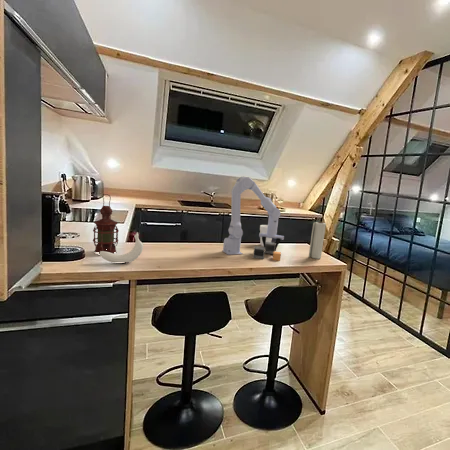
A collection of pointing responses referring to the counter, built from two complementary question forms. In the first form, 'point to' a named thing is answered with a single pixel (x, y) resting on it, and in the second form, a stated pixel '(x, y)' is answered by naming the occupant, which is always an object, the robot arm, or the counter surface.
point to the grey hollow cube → (259, 252)
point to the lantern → (106, 231)
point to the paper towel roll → (317, 240)
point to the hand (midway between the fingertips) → (269, 249)
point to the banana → (125, 257)
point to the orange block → (276, 256)
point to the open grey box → (270, 247)
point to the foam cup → (264, 230)
